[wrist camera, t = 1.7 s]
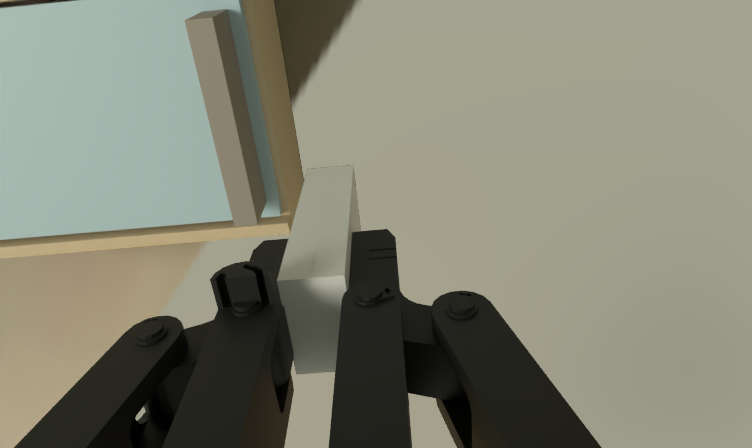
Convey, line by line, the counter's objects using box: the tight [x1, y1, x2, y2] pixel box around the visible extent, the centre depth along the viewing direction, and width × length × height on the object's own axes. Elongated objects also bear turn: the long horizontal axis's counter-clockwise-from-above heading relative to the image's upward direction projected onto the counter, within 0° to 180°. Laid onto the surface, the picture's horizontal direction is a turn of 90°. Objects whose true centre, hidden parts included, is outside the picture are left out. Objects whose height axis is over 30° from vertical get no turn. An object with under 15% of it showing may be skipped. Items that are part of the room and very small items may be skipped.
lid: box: [0, 0, 282, 240], centre depth 27 cm, size 12×19×3 cm, turn 95°
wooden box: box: [0, 0, 304, 258], centre depth 31 cm, size 14×20×7 cm
